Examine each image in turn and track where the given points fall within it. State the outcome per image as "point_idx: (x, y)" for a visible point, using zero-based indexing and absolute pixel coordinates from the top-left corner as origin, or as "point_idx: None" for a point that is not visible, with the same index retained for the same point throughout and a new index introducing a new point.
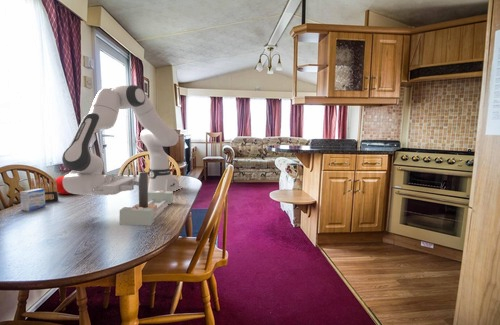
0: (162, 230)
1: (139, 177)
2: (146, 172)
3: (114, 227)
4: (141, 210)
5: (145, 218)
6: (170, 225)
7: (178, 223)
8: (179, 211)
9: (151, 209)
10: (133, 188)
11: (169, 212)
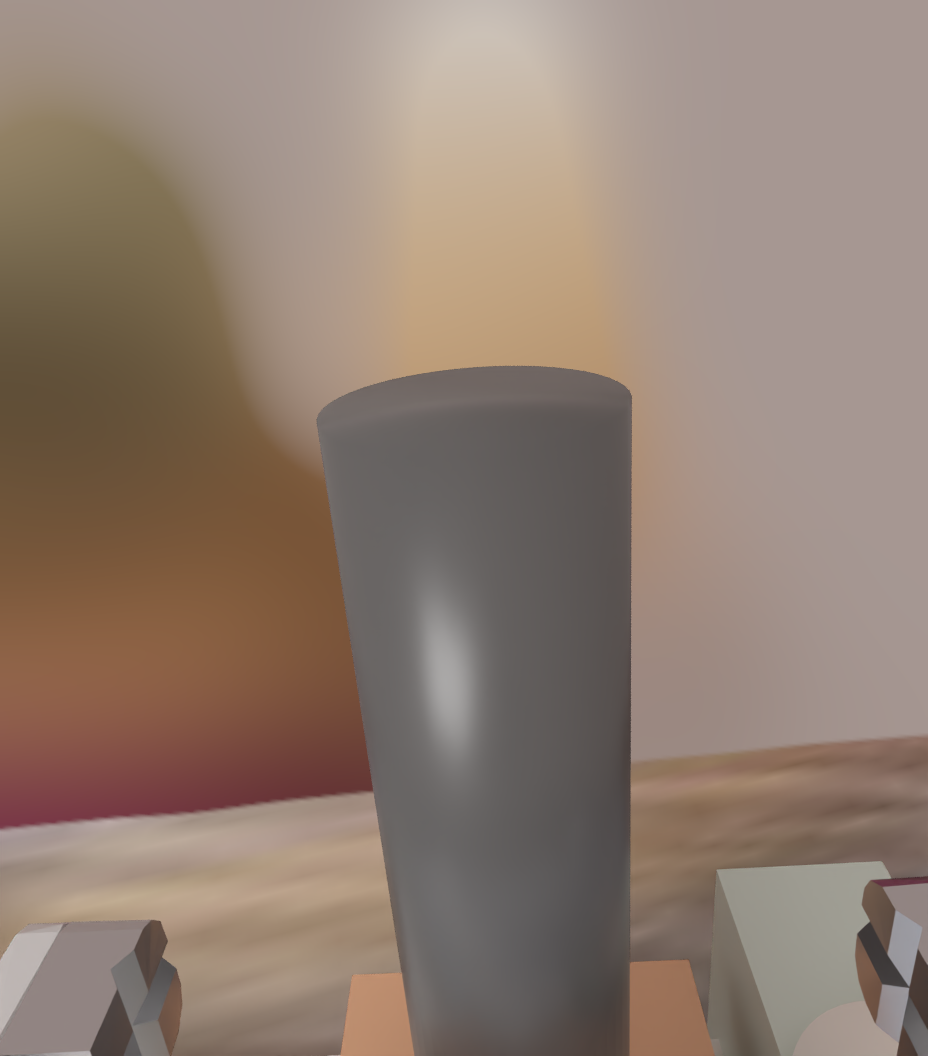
0: (918, 844)
1: (618, 574)
2: (421, 382)
3: None
4: None
5: None
6: (742, 820)
7: (657, 776)
8: (226, 867)
9: (805, 868)
10: (870, 936)
11: (251, 967)
